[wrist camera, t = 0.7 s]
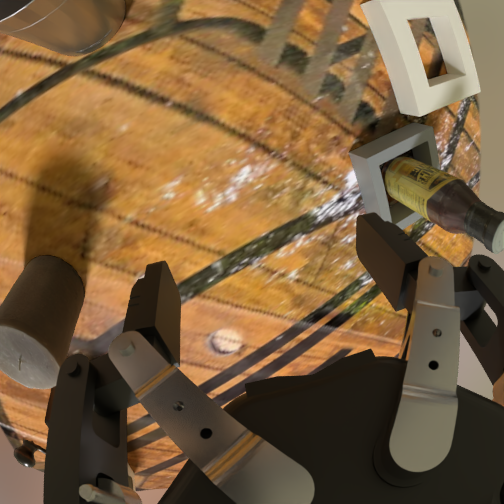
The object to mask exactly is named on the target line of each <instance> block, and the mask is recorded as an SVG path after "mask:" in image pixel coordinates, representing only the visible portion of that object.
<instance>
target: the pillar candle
mask: <svg viewBox="0 0 504 504" xmlns="http://www.w3.org/2000/svg"><path fill="white" fill-rule="evenodd" d="M84 294H85V291H84V286H83V282H82V280H81V278H80V276H79V275H78V274H77V272H76V270H75V269H74V268H73V267H72V266H71V265H69V264H68V263H67V262H65V261H63V260H62V259H60V258H57V257H54V256H48V255H45V256H38V257H36V258H34V259H32V260H31V261H30V262H29V263H28V264H27V266H26V267H25V269H24V270H23V272H22V273H21V275H20V276H19V278H18V279H17V281H16V282H15V284H14V285H13V287H12V288H11V290H10V292H9V293H8V295H7V296H6V298H5V300H4V301H3V303H2V305H1V306H0V370H1V371H2V372H3V373H5V374H6V375H8V376H9V377H10V378H11V379H13V380H15V381H16V382H18V383H21V384H22V385H25V386H26V387H28V388H36V389H49V388H52V387H54V386H56V383H57V378H58V373H59V370H60V367H61V365H62V364H63V362H64V361H65V360H66V357H67V354H68V350H69V346H70V343H71V340H72V336H73V333H74V330H75V326H76V323H77V320H78V318H79V314H80V311H81V308H82V305H83V302H84V297H85V295H84Z"/></svg>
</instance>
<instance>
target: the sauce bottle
mask: <svg viewBox="0 0 504 504" xmlns="http://www.w3.org/2000/svg"><path fill="white" fill-rule="evenodd" d="M381 175H382V179H383V183H384V187H385V192H386V193H387V194H389V195H390V196H391V197H392V198H394V199H396V200H397V201H399V202H401V203H402V204H404V205H406V206H407V207H409V208H410V209H412V210H414V211H415V212H417V213H418V214H420V215H422V216H423V217H425V218H426V219H428V220H429V221H431V222H432V223H434V224H437V225H438V226H440V227H441V228H443V229H444V230H446V231H448V232H450V233H456V234H458V233H468V234H469V235H470V236H471V237H474V238H476V239H477V240H479V241H480V242H482V243H483V244H484V246H485V247H486V249H488V250H489V251H491V252H492V253H495V254H498V253H500V252H501V251H502V250H503V249H504V213H503V212H497V211H496V210H494V209H493V208H490V207H489V206H487V205H486V204H485V203H483V202H482V201H481V200H480V199H479V198H478V197H477V196H476V195H475V193H474V192H473V191H472V190H471V189H470V188H469V187H468V186H467V185H466V183H465V182H464V181H463V180H461V179H459V178H457V177H455V176H453V175H450V174H448V173H446V172H444V171H442V170H439V169H437V168H434V167H432V166H430V165H427V164H425V163H422V162H420V161H417V160H415V159H412V158H409V157H405V156H397V157H395V158H393V159H391V160H389V161H387V162H385V163H384V165H383V168H382V171H381Z"/></svg>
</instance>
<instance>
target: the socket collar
mask: <svg viewBox="0 0 504 504" xmlns="http://www.w3.org/2000/svg"><path fill="white" fill-rule="evenodd" d="M360 6H361V8H362V10H363V12H364V15H365V17H366V19H367V21H368V23H369V26H370V28H371V30H372V33H373V35H374V38H375V40H376V42H377V45H378V47H379V50H380V53H381V55H382V58H383V61H384V63H385V66H386V69H387V72H388V75H389V78H390V81H391V84H392V87H393V90H394V93H395V96H396V100H397V103H398V107H399V110H400V113H401V114H407V115H413V116H418V117H421V116H423V115H426V114H428V113H430V112H433V111H435V110H437V109H440V108H442V107H444V106H447V105H449V104H452V103H454V102H457V101H459V100H462V99H464V98H467V97H469V96H472V95H474V94H477V93H479V92H481V91H480V86H479V81H478V77H477V72H476V68H475V64H474V60H473V57H472V53H471V50H470V46H469V43H468V40H467V36H466V33H465V30H464V27H463V25H462V22H461V19H460V16H459V14H458V11H457V8H456V6H455V3H454V1H453V0H372V1H369V2H366V3H363V4H361V5H360ZM420 18H429V19H430V22H431V24H432V27H433V30H434V32H435V35H436V38H437V41H438V44H439V47H440V50H441V53H442V56H443V60H444V63H445V66H446V70H447V74H445V75H442V76H438V77H435V78H432V79H429V80H427V77H426V73H425V70H424V67H423V63H422V60H421V57H420V54H419V51H418V48H417V46H416V43H415V40H414V37H413V35H412V32H411V29H410V27H409V24H408V22H407V20H412V19H420Z"/></svg>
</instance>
